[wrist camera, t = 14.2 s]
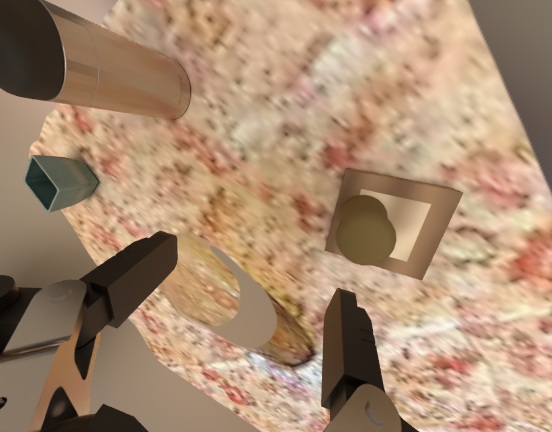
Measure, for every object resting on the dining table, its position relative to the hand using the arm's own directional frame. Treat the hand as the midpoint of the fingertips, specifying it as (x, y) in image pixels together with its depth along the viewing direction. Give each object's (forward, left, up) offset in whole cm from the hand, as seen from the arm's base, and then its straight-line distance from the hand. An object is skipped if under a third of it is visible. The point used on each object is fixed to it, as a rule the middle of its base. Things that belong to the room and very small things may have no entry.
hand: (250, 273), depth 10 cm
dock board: (+9, -2, -25) cm, 26 cm away
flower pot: (-55, -10, -25) cm, 61 cm away
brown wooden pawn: (+6, -2, -22) cm, 23 cm away
